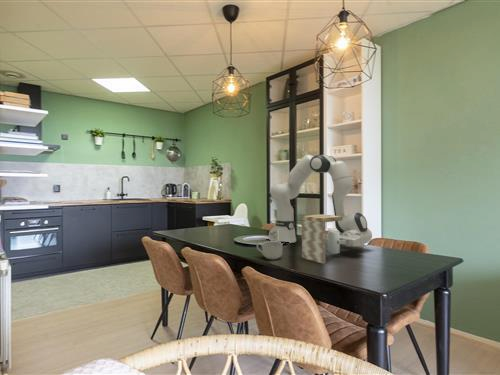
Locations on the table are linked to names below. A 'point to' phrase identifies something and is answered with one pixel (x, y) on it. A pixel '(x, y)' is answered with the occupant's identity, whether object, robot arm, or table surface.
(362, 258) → the table surface
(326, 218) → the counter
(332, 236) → the pale grey upright cylinder
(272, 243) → the teacup
